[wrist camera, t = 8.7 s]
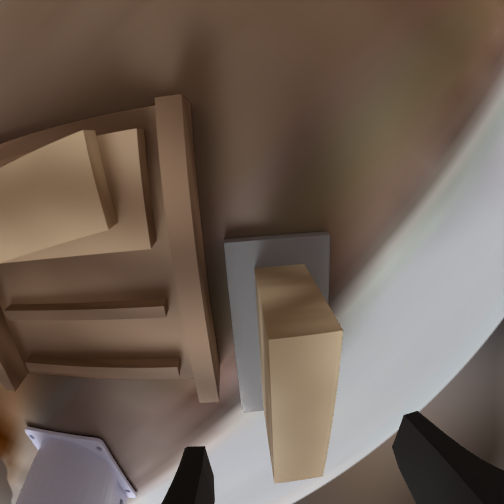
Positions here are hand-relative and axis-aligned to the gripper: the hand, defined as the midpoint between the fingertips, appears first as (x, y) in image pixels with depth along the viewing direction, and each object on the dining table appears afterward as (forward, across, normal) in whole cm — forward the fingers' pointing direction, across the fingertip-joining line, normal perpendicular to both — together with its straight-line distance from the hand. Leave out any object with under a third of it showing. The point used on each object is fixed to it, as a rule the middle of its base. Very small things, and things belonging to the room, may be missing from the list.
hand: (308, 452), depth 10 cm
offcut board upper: (+6, +11, -9) cm, 15 cm away
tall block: (+8, 0, 0) cm, 8 cm away
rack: (+8, +10, -5) cm, 14 cm away
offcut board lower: (+7, +10, -9) cm, 15 cm away
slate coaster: (+8, 0, 0) cm, 8 cm away
